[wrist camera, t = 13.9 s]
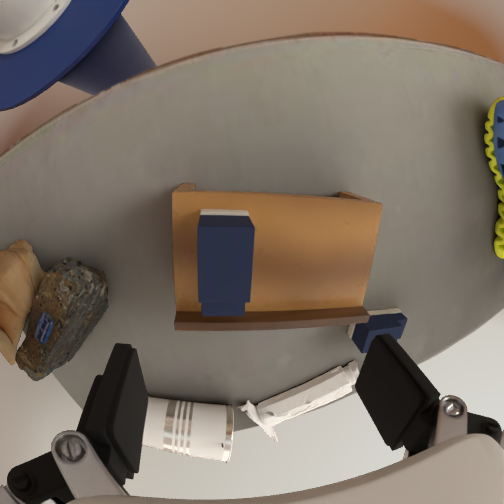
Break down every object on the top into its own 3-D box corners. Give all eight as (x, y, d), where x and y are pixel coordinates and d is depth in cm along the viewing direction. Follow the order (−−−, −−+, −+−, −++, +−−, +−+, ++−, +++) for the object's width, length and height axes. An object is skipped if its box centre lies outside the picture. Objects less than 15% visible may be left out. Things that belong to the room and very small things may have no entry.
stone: (-4, 333, 19) (52, 247, 18) (39, 317, 27) (103, 244, 26) (29, 388, 19) (97, 322, 18) (69, 363, 27) (140, 299, 26)
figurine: (-56, 244, 12) (18, 197, 20) (-27, 300, 23) (18, 265, 31) (5, 361, 14) (80, 295, 22) (19, 372, 25) (63, 331, 32)
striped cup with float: (147, 383, 35) (229, 396, 36) (143, 433, 32) (223, 446, 34) (129, 398, 25) (236, 415, 27) (127, 460, 23) (229, 476, 24)
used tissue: (231, 395, 33) (234, 417, 29) (360, 355, 34) (373, 374, 30) (250, 433, 37) (253, 452, 33) (358, 399, 38) (368, 416, 34)
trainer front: (200, 208, 19) (197, 222, 15) (247, 209, 19) (255, 223, 16) (201, 299, 21) (199, 329, 17) (242, 299, 22) (248, 329, 18)
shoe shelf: (181, 183, 24) (168, 195, 17) (350, 192, 26) (393, 208, 19) (183, 285, 27) (175, 330, 20) (335, 284, 29) (368, 322, 22)
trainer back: (346, 334, 32) (360, 353, 28) (352, 312, 31) (367, 330, 27) (391, 328, 33) (406, 345, 29) (398, 307, 32) (414, 323, 28)
